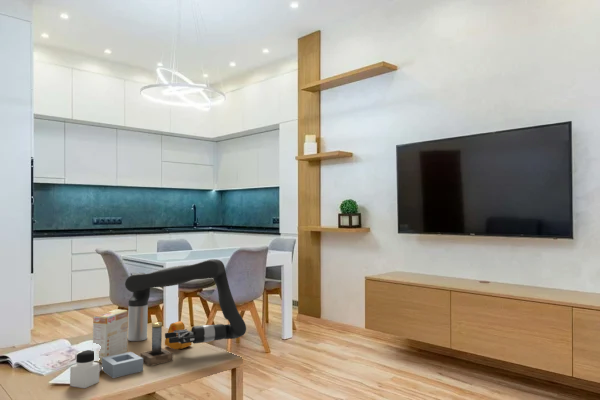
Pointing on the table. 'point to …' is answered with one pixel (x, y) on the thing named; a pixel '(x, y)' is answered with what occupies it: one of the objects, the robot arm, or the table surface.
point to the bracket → (177, 326)
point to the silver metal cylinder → (156, 338)
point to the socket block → (156, 357)
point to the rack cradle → (122, 364)
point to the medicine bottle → (84, 370)
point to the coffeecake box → (111, 332)
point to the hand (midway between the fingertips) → (167, 338)
